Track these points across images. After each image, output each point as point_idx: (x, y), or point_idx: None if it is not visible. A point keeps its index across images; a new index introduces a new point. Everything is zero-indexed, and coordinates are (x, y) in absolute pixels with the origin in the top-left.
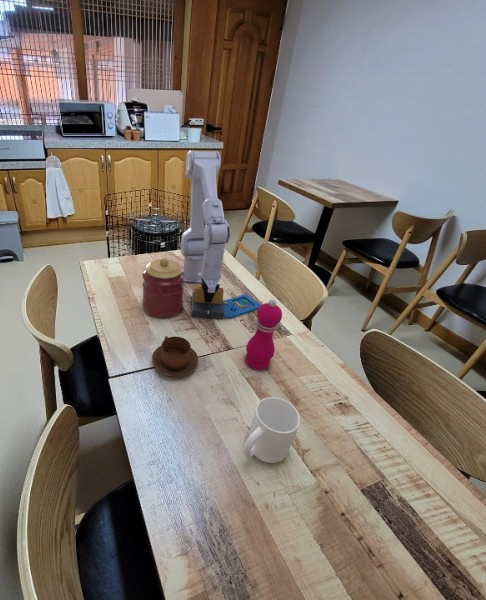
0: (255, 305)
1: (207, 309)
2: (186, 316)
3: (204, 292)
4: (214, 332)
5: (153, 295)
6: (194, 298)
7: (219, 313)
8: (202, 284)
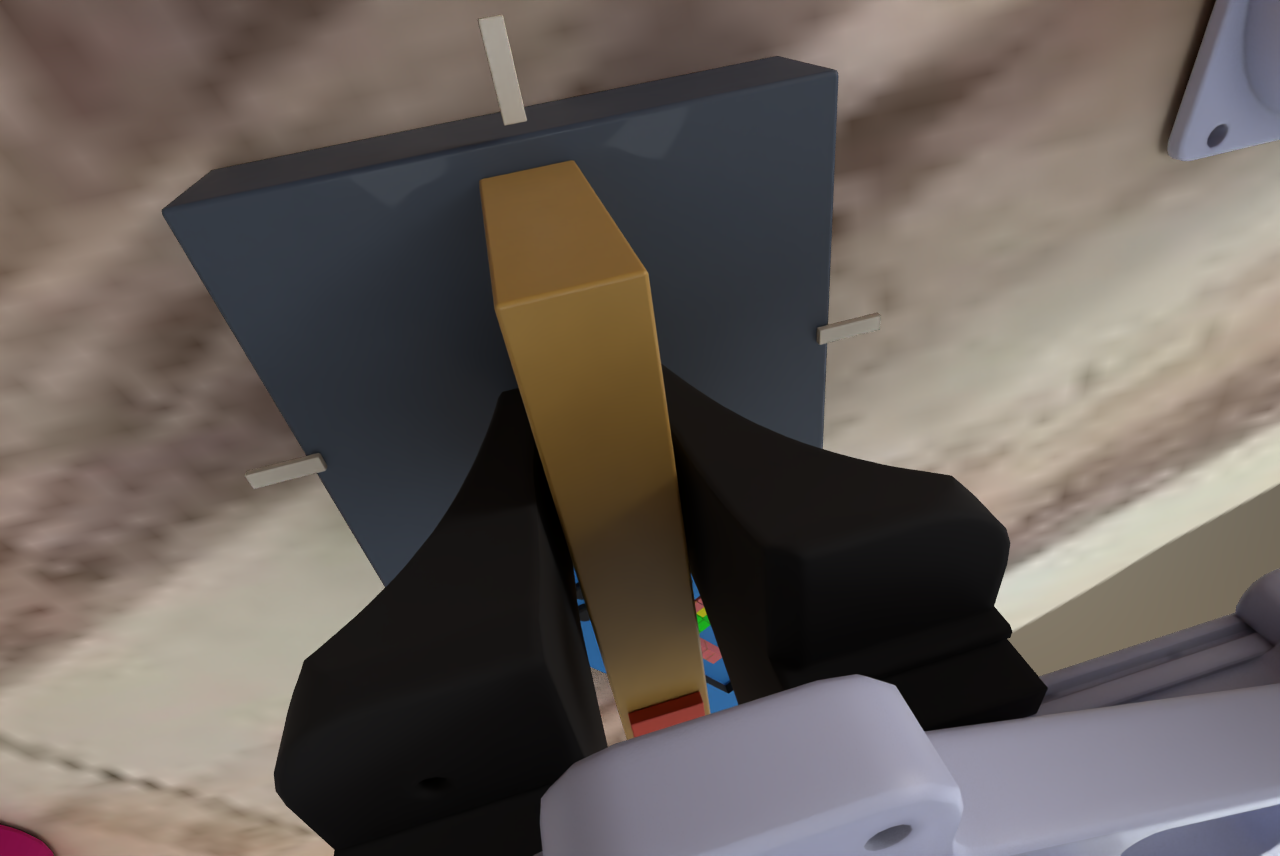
0: (721, 696)
1: (366, 439)
2: (164, 72)
3: (429, 544)
4: (73, 535)
5: None
6: (484, 208)
7: (378, 569)
8: (353, 738)
